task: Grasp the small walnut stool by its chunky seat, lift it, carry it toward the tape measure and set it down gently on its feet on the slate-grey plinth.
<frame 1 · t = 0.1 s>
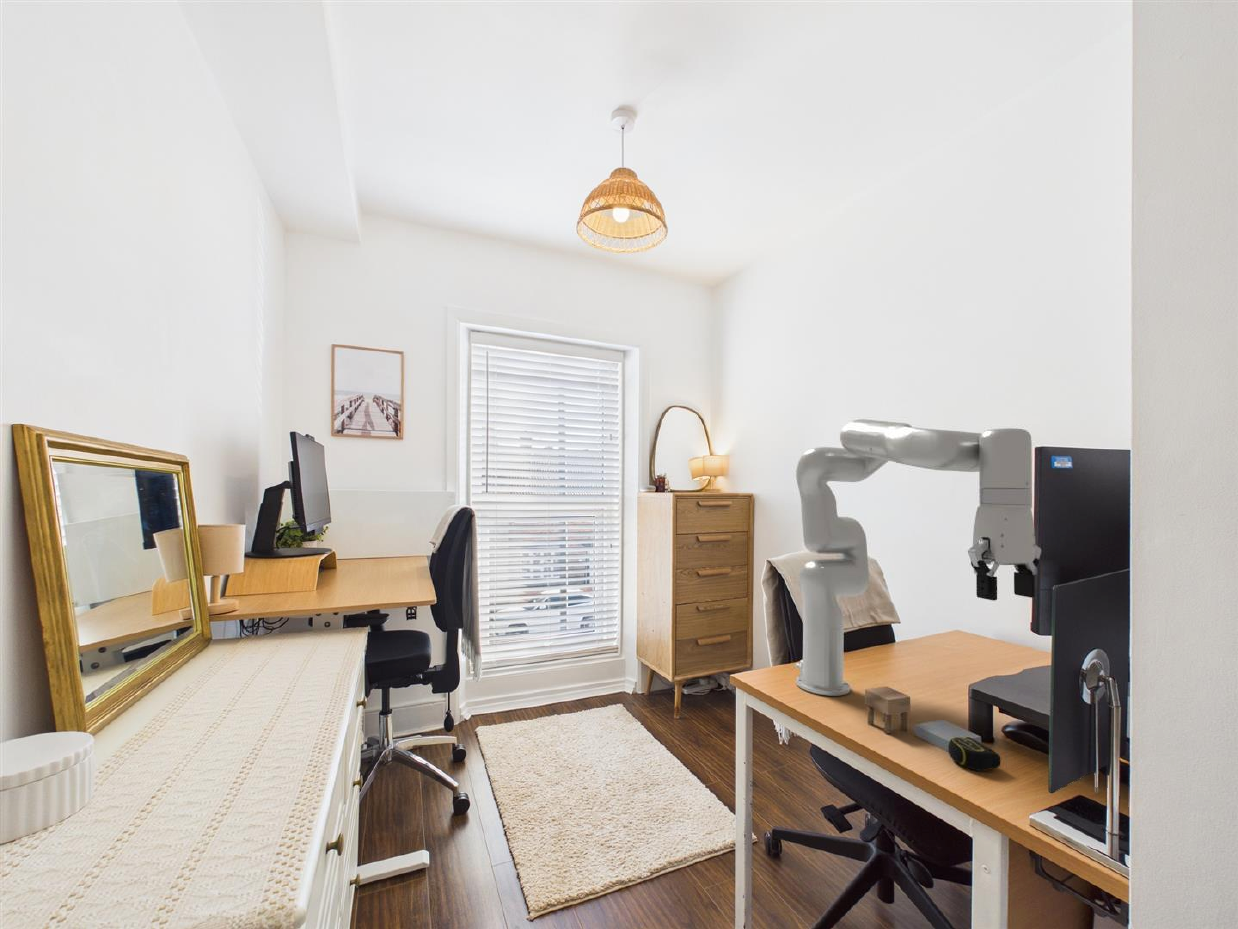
hand: (1005, 597, 93), 31 cm above the table, fingers open, 9 cm apart
tape measure: (972, 765, 98), on the table
plinth: (947, 741, 106), on the table
stool: (887, 727, 112), on the table
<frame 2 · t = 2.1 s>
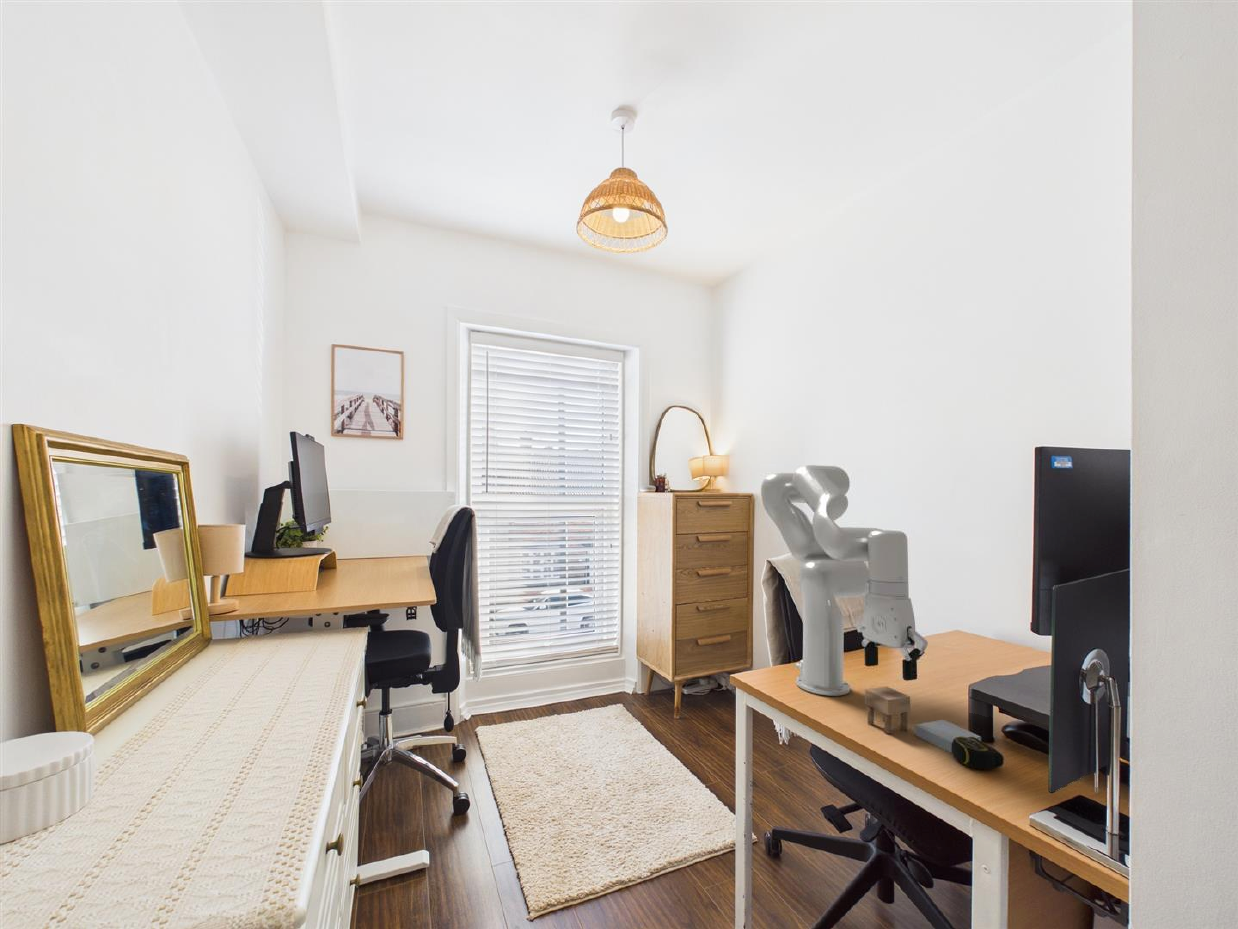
hand: (890, 672, 112), 12 cm above the table, fingers open, 9 cm apart
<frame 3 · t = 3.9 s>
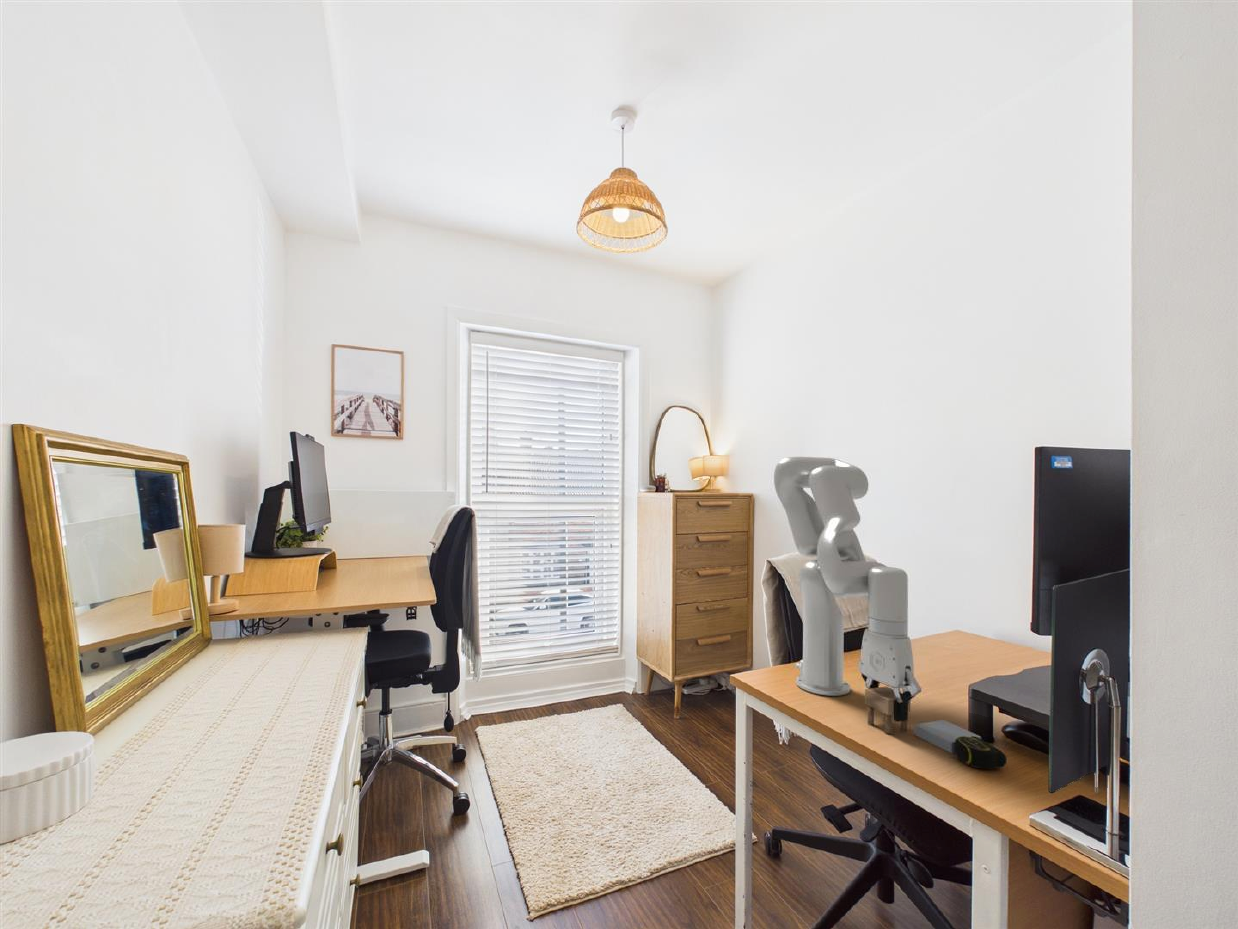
hand: (887, 713, 112), 3 cm above the table, fingers closed on stool, 6 cm apart
stool: (887, 727, 112), on the table, touching gripper
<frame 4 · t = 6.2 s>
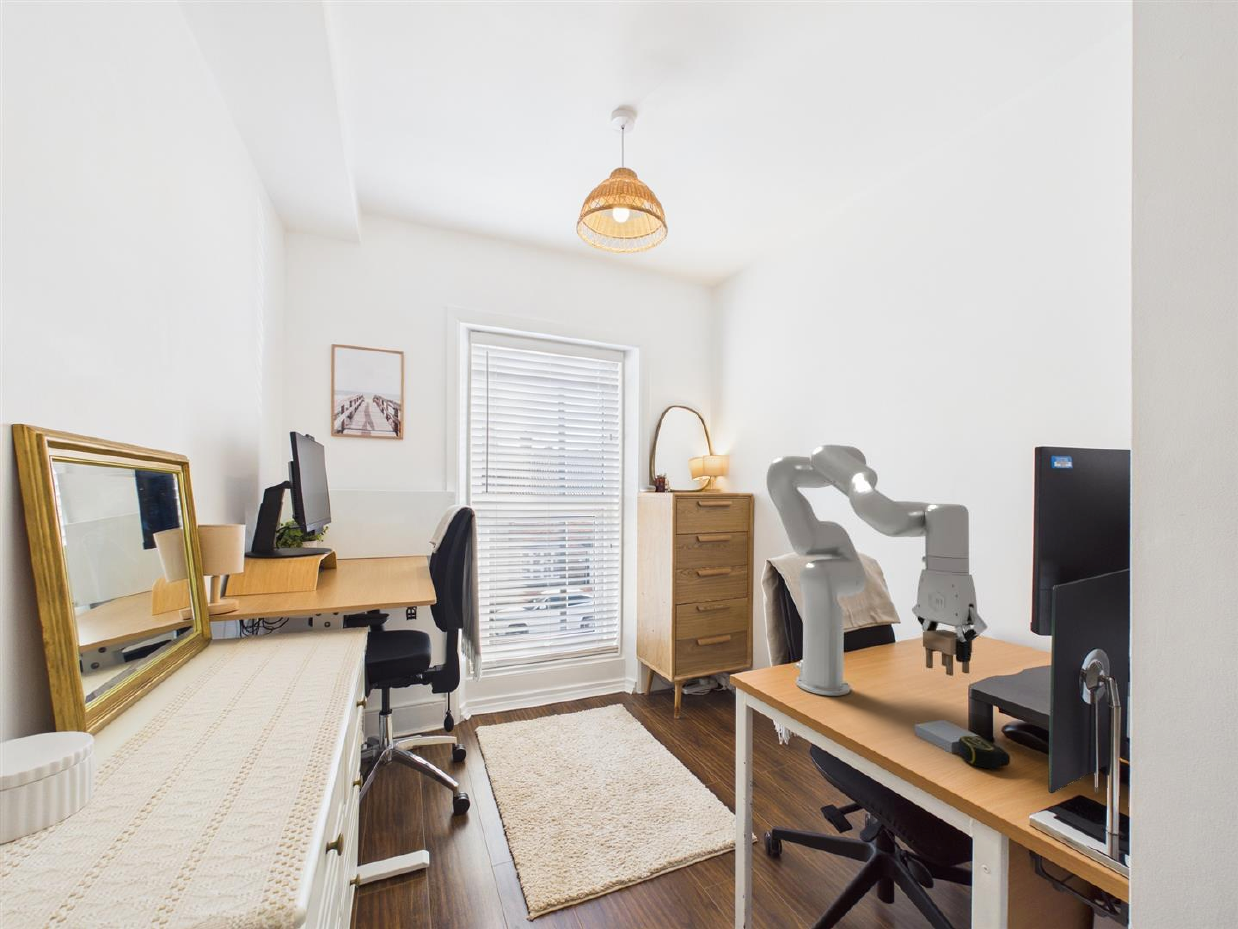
hand: (947, 655, 107), 17 cm above the table, fingers closed on stool, 6 cm apart
stool: (947, 669, 107), point 14 cm above the table, touching gripper
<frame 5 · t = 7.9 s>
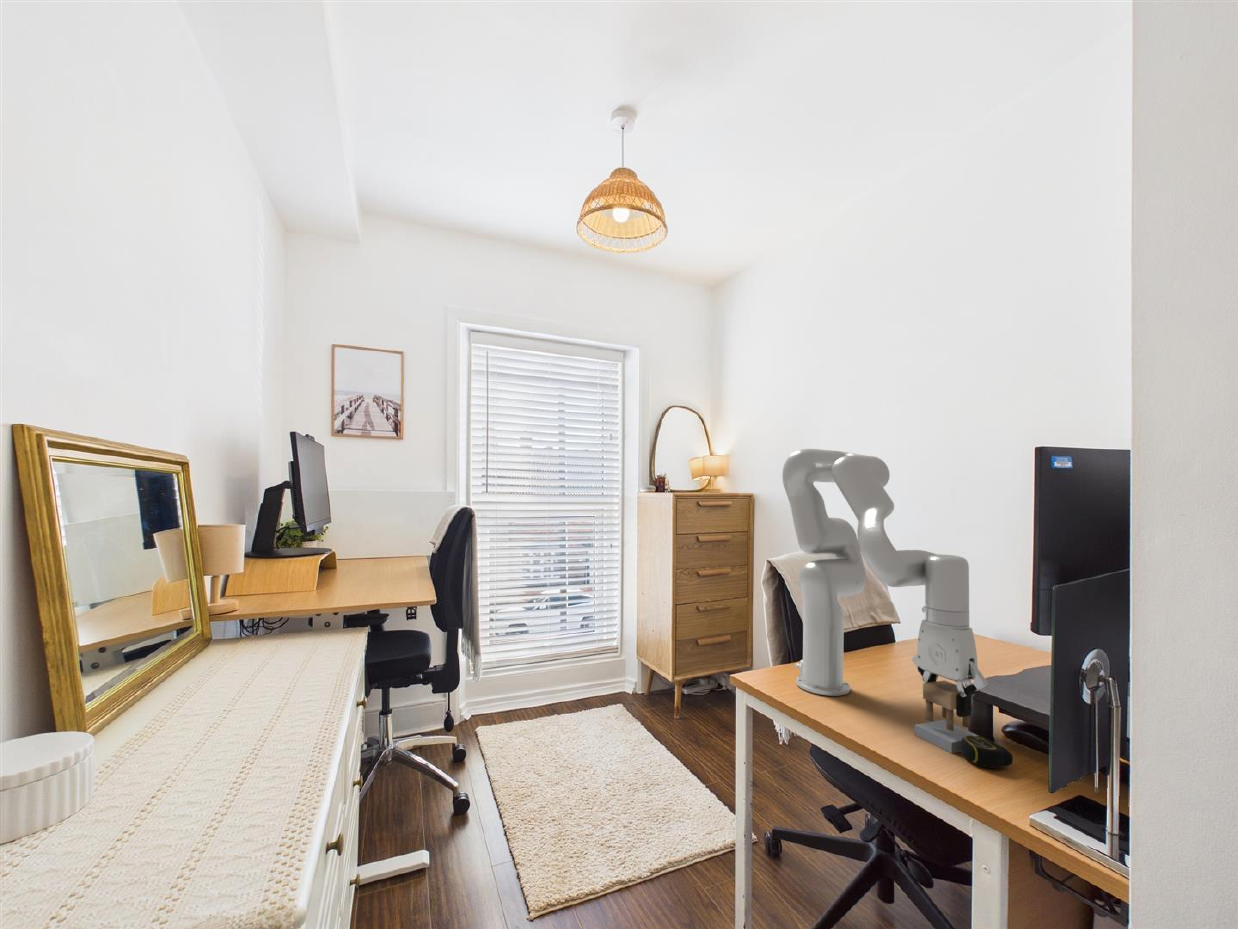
hand: (947, 708, 106), 6 cm above the table, fingers closed on stool, 6 cm apart
stool: (947, 723, 106), point 4 cm above the table, touching gripper
when the fingers open (6 cm above the table, at t = 8.9 s): stool stays where it is, resting on plinth.
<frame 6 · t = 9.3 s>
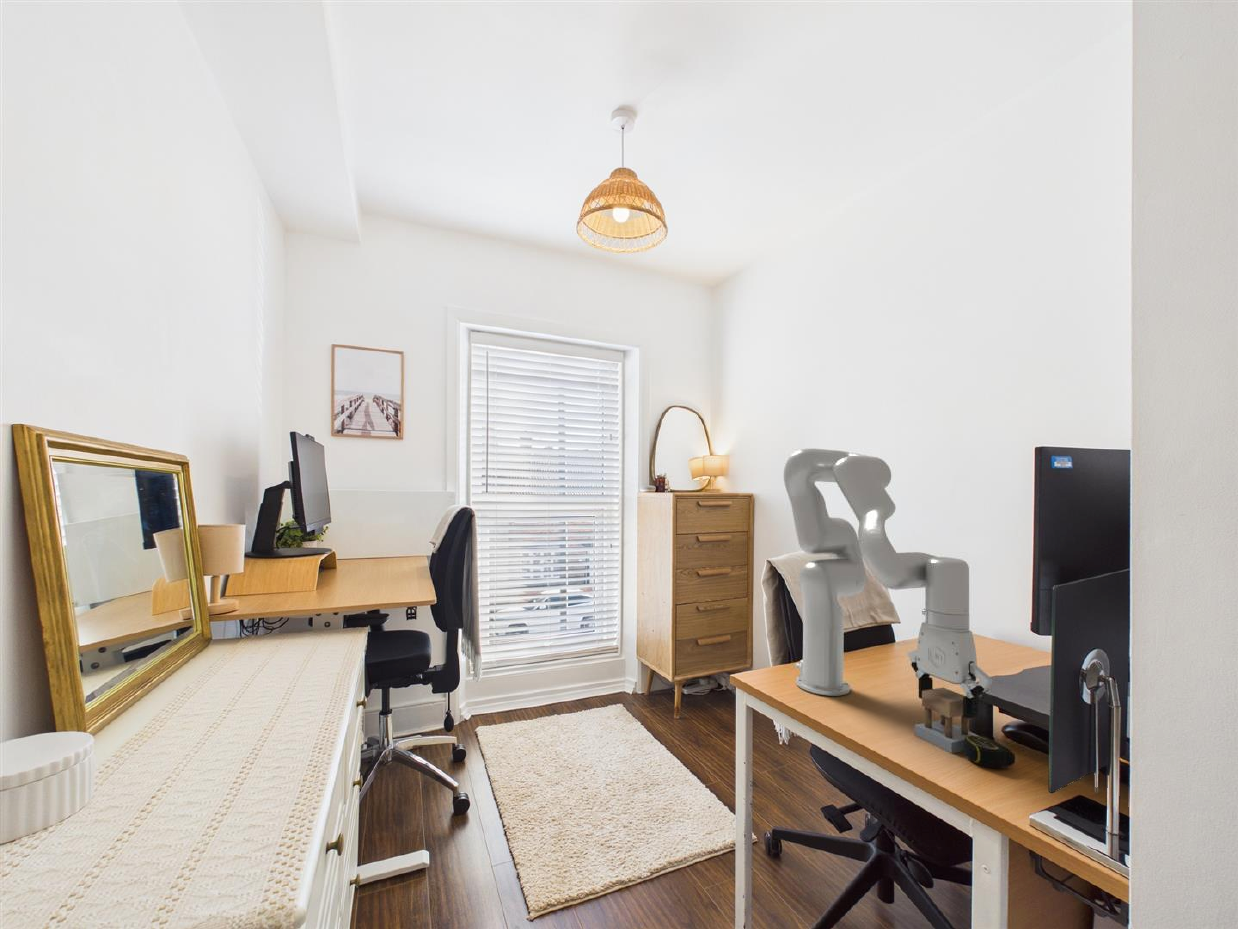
hand: (947, 707, 106), 7 cm above the table, fingers open, 9 cm apart
stool: (946, 730, 106), point 2 cm above the table, touching plinth
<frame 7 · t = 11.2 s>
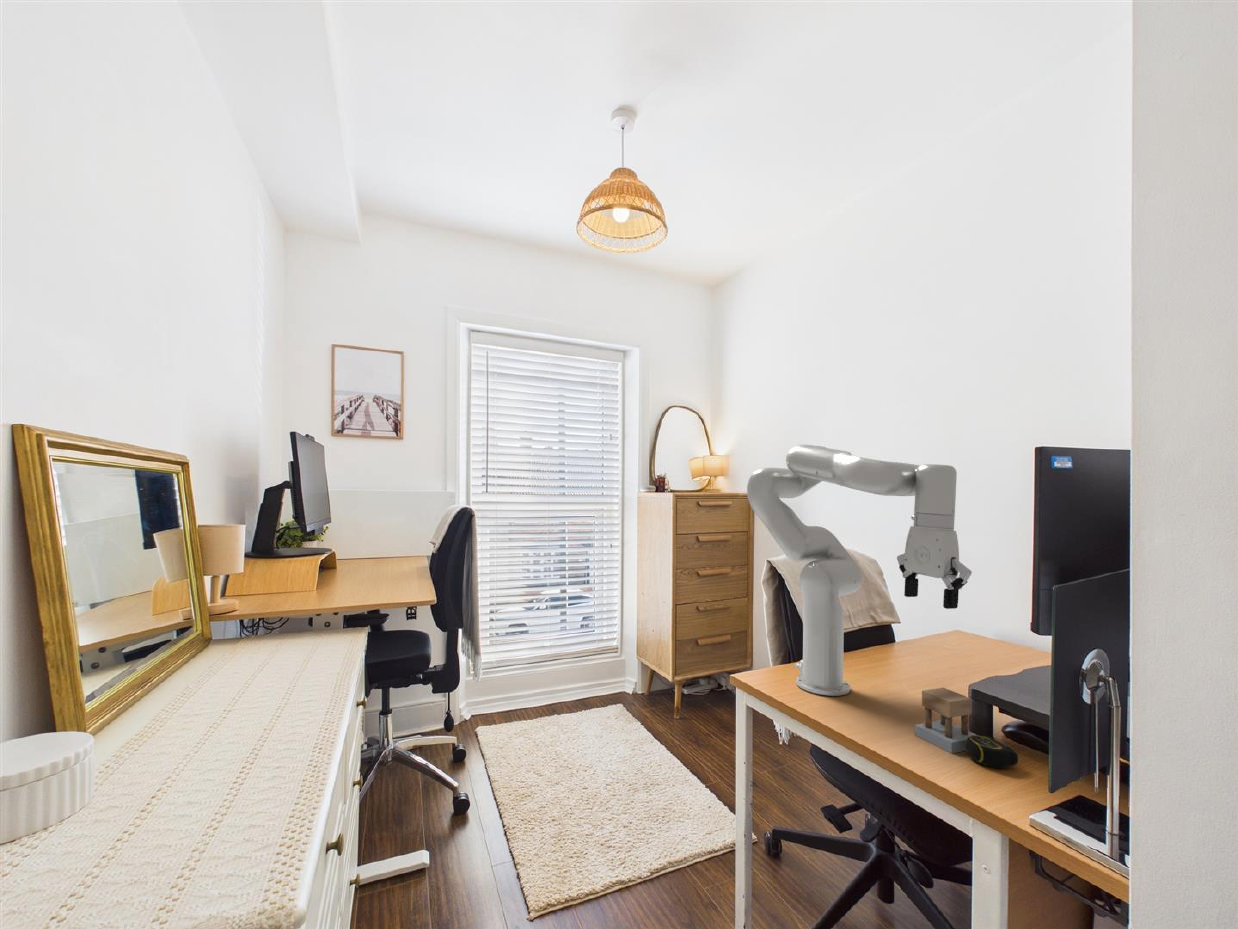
hand: (929, 602, 114), 26 cm above the table, fingers open, 9 cm apart
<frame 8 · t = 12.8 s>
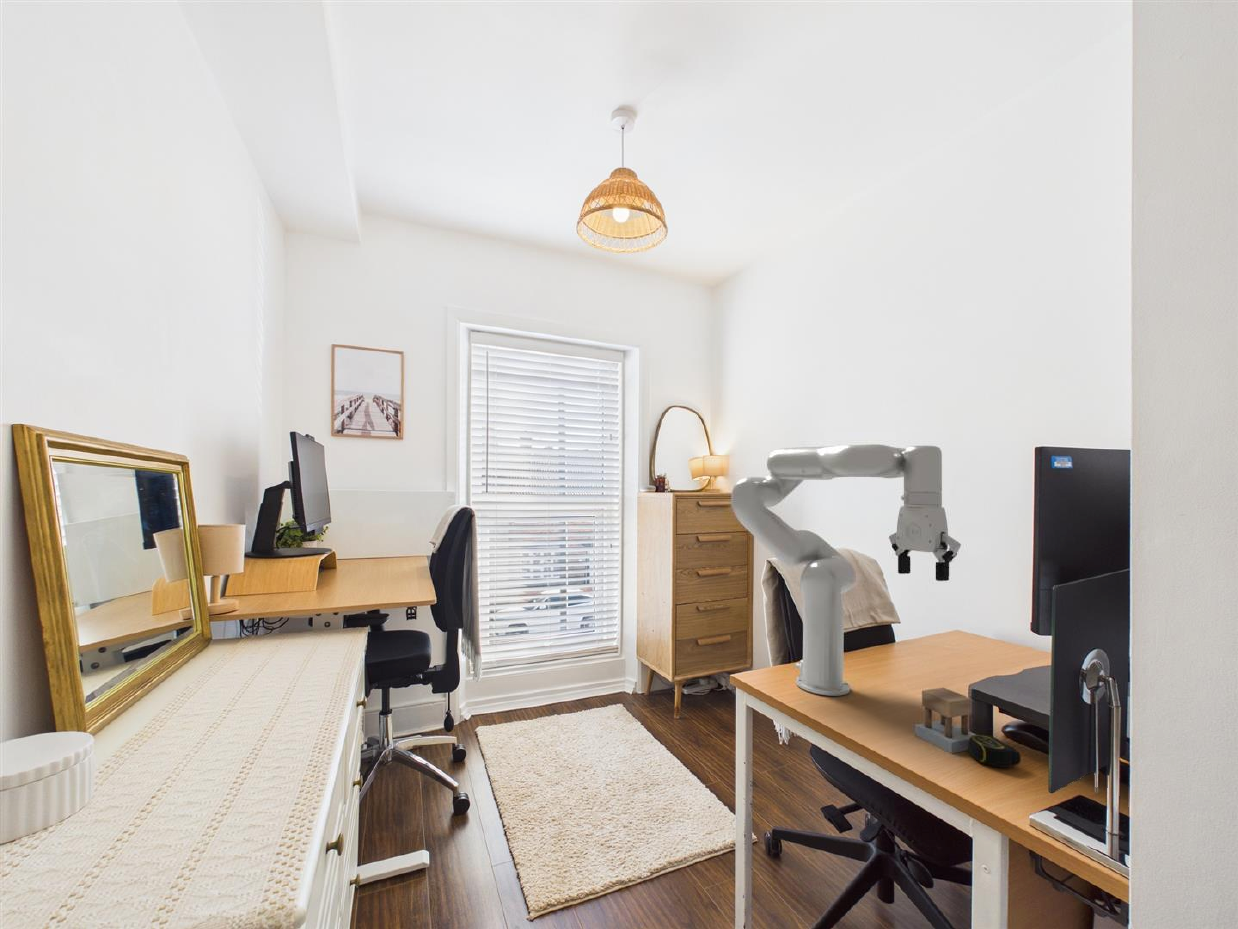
hand: (922, 576, 120), 30 cm above the table, fingers open, 9 cm apart
at the end: stool inside the target area on the plinth (0.1 cm from its centre), point 2.0 cm above the plinth's base; stool tilted 0°; the gripper is holding nothing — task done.
